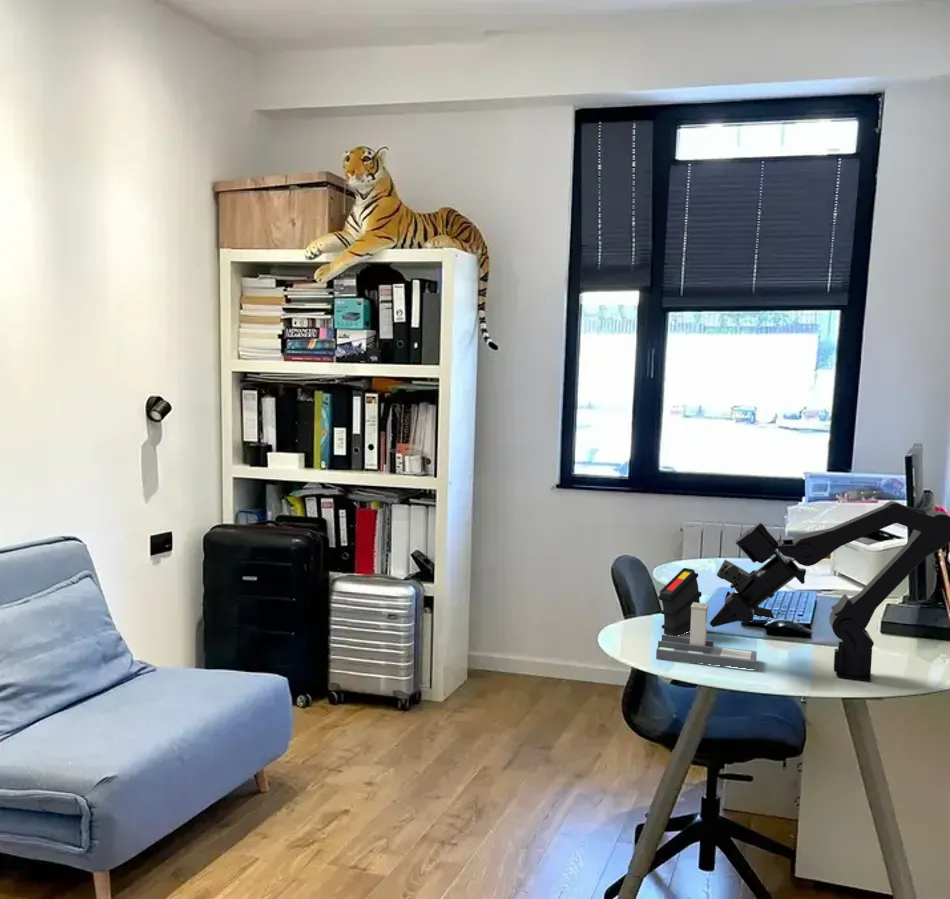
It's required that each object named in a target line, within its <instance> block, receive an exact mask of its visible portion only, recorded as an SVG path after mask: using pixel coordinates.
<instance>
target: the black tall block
mask: <svg viewBox="0 0 950 899" xmlns="http://www.w3.org/2000/svg"><path fill="white" fill-rule="evenodd" d="M698 577H699V574H698V573H697V572H696V571H695V569H692V568H687V567H683V568H682V569H681V570H680V571H678V573H677V574H676V575H675V576H674V577H672V579H671V580H670V581H669V582H667V584H666V585H664V587H662V589H660V590H659V595H658V596H657V598H658V601H661V603H662V610H661V615H663V624H662V625H661V629H663V635H665V634H666V635H671V636H678V635H680V636H682V635H681V634H684V633H686V632H689V631H690V627H691V605H692V603H693V602H695V603H701V599H700V598H701V597H702V592H701V591H699V583H698ZM684 635H685V634H684Z"/></svg>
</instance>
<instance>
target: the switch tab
mask: <svg viewBox="0 0 950 899" xmlns="http://www.w3.org/2000/svg"><path fill="white" fill-rule="evenodd" d="M708 608H709V603H705V602H704V603H703V602H700V603H695V602H693V603H692V605H691V627H690V633H689V638H690V644H691V645H699V646H706V640H707V631H708V630H707V628H708V627H707V626H708V625H707V623H708V610H709V609H708Z"/></svg>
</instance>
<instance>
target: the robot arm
mask: <svg viewBox="0 0 950 899" xmlns="http://www.w3.org/2000/svg"><path fill="white" fill-rule="evenodd" d="M895 524H899V525H902V526H904V527H907V528H910V529H912V533H911V534H910V536H909V538H908V540H907V542H906V544H905V545H904V546H903V547H902V548H901V549H900V550H899V551H898V552H897V553H896V554H895V555H894V556H893V557H892V558H891V559H890V560H889V561H888V562H887V564H885V565H884V567H882V569H881V570H880V571H879V572H878V573H877V574H876V575H875V576H874V577H873V578H872V579H871V580H870V581H869V582H868V583H867V584H866V585H865V586H864V588H863V589H862V590H860V592H858V593H857V594H855V595H853V596H851V597H850V598H849V597H848V596H847V594H845V593H844V594H843V595H841V598H840V599H839V601H837V603H836V604H834V605H833V606H831V607H830V609H831V612H830V613H829V616H828V617H829V618H828V619H829V620H828V621H829V624H830V627H831V630H832V632H833V633H834V634H833V635H835V637H836V638H838V639H840V640H841V641H838V642H837V648H834V654H833V672H835V674H836V677H837V678H843V679H849V680H850V679H851V680H858V681H865V682H866V681H867V682H872V680H873V678H872V674H871V673H872V661H873V660H872V658H873V657H872V656H873V647H874V645H875V642H874V640H873V639H872V637H871V635H870V633H869V632H868V631H867V626H868V625H869V623H870V622H871V619H872V617H873V615H874V613H875V611H876V609H877V608H879V606H880V605H881V604H882V603H883V602H884V601H885V600H886V599H887V597H889V596H890V595H891V593H892V592H893V591H895V589H896V588H897V587H899V585H900V584H901V583H902V582H903V581H905V579H906V578H907V577H908V576H909V575H910V574H911V573H912V572H913V571H914V570H915V569H916V567H917V566H919V565H920V564H921V563H922V562H923V560H925V558H927V557H929V556H931V555H933V554H935V553H936V552H938V551H940V550H941V549H943V548H944V547H946V546H947V545H948V544H950V515H949V514H947V513H944V512H943V511H940V510H929V511H927V512H926V511H924V510H920V509H919V508H915V507H911V506H907V505H904V504H902V503H899V502H898V501H894V500H892V501H888V502H886V503H885V504H883V505H882V506H879V507H877V508H874V509H873V510H869V511H868V512H865V513H863V514H861V515H858V516H855V517H854V518H850V519H849V520H847V521H843V522H841V523H840V524H838V525H837V524H836V525H835V526H833V527H830V528H826V529H825V528H824V529H820V530H813V531H810V532H806V533H801V534H799V535H796V536H795V537H794V538H792V539H776V538H775V537H774V536H773V535H772V534H771V533H770V531H769V530H768V529H767V527H766V526H765V525H764V523H762V522H759V523H758V524H756V525H755V526H753V527H751V528H750V529H747V530H746V531H744V532H743V534H741V535H740V536H739V537H738V538H737V539H736V540H735V542H734V543H735V544H736V545H737V546H738V547H739V548H740V550H741V551H742V552H743V553H744V554H745V555H746V556H747V558H748V559H749V560H751V562H752V563H754V564H755V563H760V564H763V563H765V562H766V561H767V562H766V563H765V564H763V565H762V566H761V567H759V568H758V569H753V570H752V571H751V572H748V571H746V570H744V568H741V567H739V566H737V565H736V564H734V563H732V562H731V561H728V560H727V559H725V560H723V562H722V563H721V566H720V567H719V569H718V571H717V573H716V576H717V578H719V579H722V580H725V581H727V582H728V583H730V586H729V587H730V589H734V591H733V592H730V591H728V590H727V592H726V595H725V597H724V604H723V605H722V607H721V608H720V609H719V610H718V612H717V613H716V614H715V616H713V618H712V619H711V621H710V622H709V625H710V626H711V627H712V628H716V627H720V626H723V625H728V624H731V623H735V622H742V624H744V625H745V626H746V625H748V624H750V623H749V622H750V621H752V620H753V617H754V610H756V609H758V608H759V607H760V606H761V605H762V603H764V602H765V601H766V600H768V599H771V598H773V597H774V596H775V593H777V592H778V591H779V590H781V589H782V588H783V587H785V586H786V585H787V584H788V583H790V582H791V581H793V579H795V578H796V580H798V582H800V584H801V585H804V584H805V582H806V581H805V578H806V577H805V576H806V573H807V570H806V568H801V567H799V566H798V565H797V564H796V563H795V562H797V563H798V564H799V565H801V566H805V567H811V566H814V565H816V564H818V563H819V562H821V561H822V560H824V559H825V558H828V556H830V555H831V554H832V553H833V552H835V551H836V550H837V549H839V548H841V547H842V546H845V545H847V544H849V543H852V542H854V541H857V540H859V539H861V538H864V537H866V536H868V535H871V534H874V533H876V532H878V531H880V530H883V529H885V528H887V527H889V526H892V525H895ZM774 555H775V556H774ZM785 557H788V558H785ZM769 559H770V560H769ZM793 559H794V561H795V562H794V561H793Z"/></svg>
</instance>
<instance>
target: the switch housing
mask: <svg viewBox="0 0 950 899" xmlns="http://www.w3.org/2000/svg"><path fill="white" fill-rule="evenodd" d="M714 643H715V642H714V640H713V639H712V640H711V639H706V646H699V645H691V644H690V637H686V636H671V635H665V634H661V640H658V641H657V648H656V651H655V652H656V654H655V659H656V660H665V661H672V662H680V663H686V662H689V663H688V664H694V663H703V664H711V665H720V666H731V667H738V668H746V669H756V665H757V655H758V654H757V651H755V650H749V649H741V648H733V647H732V648H731V647H724V646H714ZM755 664H756V665H755Z"/></svg>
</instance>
